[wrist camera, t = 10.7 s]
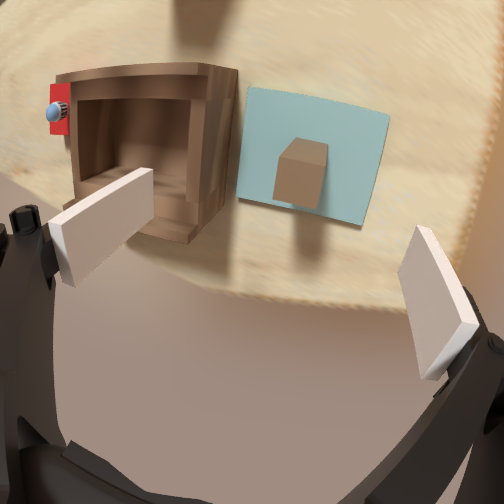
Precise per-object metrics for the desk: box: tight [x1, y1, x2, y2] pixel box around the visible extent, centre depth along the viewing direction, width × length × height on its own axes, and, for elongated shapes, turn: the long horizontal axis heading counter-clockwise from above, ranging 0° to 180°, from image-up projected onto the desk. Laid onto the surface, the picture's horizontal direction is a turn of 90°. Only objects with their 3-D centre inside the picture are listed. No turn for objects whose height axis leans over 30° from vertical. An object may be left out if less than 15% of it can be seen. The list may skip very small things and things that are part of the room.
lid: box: [236, 87, 390, 226], centre depth 23 cm, size 13×11×10 cm
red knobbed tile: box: [46, 82, 70, 135], centre depth 28 cm, size 8×7×6 cm
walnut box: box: [56, 63, 238, 245], centre depth 26 cm, size 15×14×9 cm
